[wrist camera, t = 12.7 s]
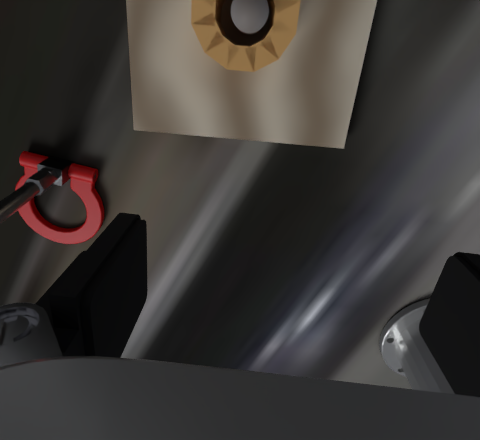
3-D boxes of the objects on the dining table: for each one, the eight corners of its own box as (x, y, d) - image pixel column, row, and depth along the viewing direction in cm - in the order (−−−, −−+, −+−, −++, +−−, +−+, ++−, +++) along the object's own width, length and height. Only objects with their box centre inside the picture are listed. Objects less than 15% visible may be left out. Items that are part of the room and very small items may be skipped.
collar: (296, -32, 24) (307, -49, 19) (283, 69, 27) (290, 75, 22) (202, -42, 24) (192, -61, 19) (200, 62, 27) (190, 66, 22)
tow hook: (103, 246, 37) (109, 168, 32) (38, 343, 26) (32, 245, 21) (23, 227, 36) (17, 145, 32) (-80, 319, 25) (-112, 212, 21)
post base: (398, -126, 23) (461, -196, 16) (339, 144, 31) (364, 171, 24) (124, -155, 22) (71, -239, 16) (138, 126, 31) (108, 149, 24)
